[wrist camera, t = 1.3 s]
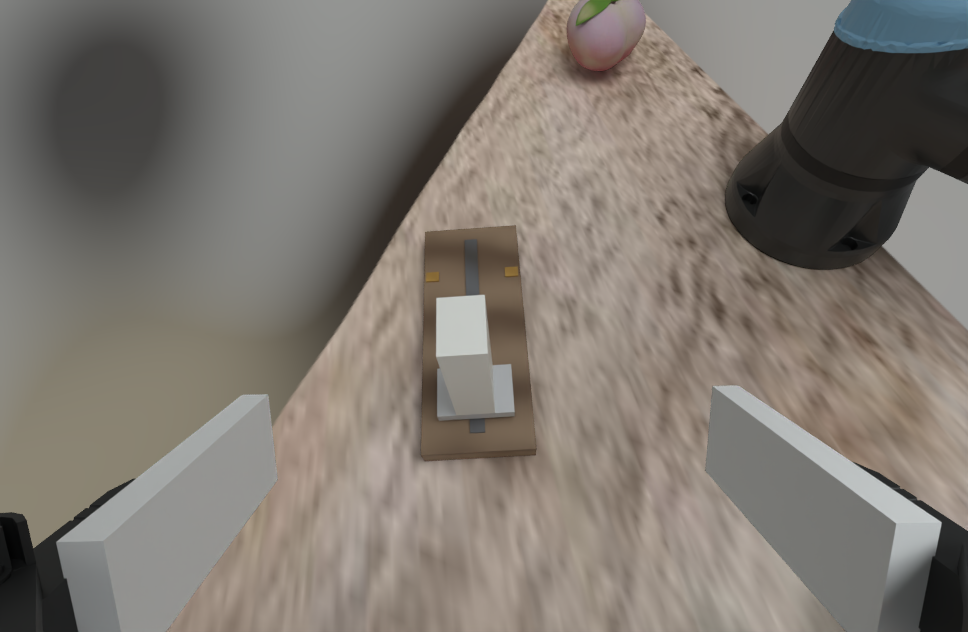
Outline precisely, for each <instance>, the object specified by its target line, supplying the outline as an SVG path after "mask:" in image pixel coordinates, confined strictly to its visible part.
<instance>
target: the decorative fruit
mask: <svg viewBox="0 0 968 632" xmlns="http://www.w3.org/2000/svg"><path fill="white" fill-rule="evenodd" d="M645 25H646V17H645V12H644V9H643V7H642V5H641V3H640V2H639V0H580V1H579V2H578V3H577V4H576V5H575V7H574V8H573V10H572V12H571V14H570V16H569V19H568V22H567V39H568V44H569V47H570V49H571V52H572V54H573V56H574V57H575V59H576V60H577V62H578V63H579V64H580V65H581V66H583V67H585V68H586V69H589V70H593V71H604V70H608V69H610V68H612V67H613V66H614V65H616V64H617V63H619V62H620V61H622V60H623V59H625V58H626V57H627V56H628V55H629V54H630V53H631V51H632V50H633V49H634V47H635V46H636V45H637V43H638V42H639V40H640V39H641V37H642V35H643V32H644V30H645Z"/></svg>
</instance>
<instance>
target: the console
mask: <svg viewBox="0 0 968 632" xmlns="http://www.w3.org/2000/svg"><path fill="white" fill-rule="evenodd" d="M473 295H485V301H486V310H487V319H488V328H489V337H490V346H491V355H492V364H493V365H506V364H511V369H512V383H513V397H514V410H515V416H512V417H495V418H478V419H461V420H444V421H439V419H438V417H437V369H440V367H439V364H438V361H437V358H436V298H443V297H458V296H473ZM526 455H536V439H535V428H534V417H533V406H532V395H531V384H530V374H529V363H528V352H527V341H526V330H525V319H524V309H523V298H522V287H521V276H520V265H519V254H518V244H517V233H516V225H515V226H501V227H487V228H472V229H458V230H444V231H430V232H425V270H424V321H423V372H422V424H421V456H422V458H423V459H424V460H425V461H437V460H455V459H473V458H490V457H508V456H526Z"/></svg>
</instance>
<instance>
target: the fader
mask: <svg viewBox="0 0 968 632" xmlns="http://www.w3.org/2000/svg"><path fill="white" fill-rule="evenodd" d="M436 358H437V361H438V364H439V367H440V369H437V417H438V419H439V421H444V420H461V419H478V418H495V417H512V416H515V410H514V397H513V383H512V369H511V364H506V365H493V364H492V355H491V346H490V337H489V328H488V319H487V310H486V301H485V295H473V296H458V297H443V298H436Z"/></svg>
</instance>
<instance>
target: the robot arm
mask: <svg viewBox="0 0 968 632" xmlns="http://www.w3.org/2000/svg"><path fill="white" fill-rule="evenodd" d="M929 167H930V168H933V169H935V170H938V171H940V172H942V173H945V174H947V175H949V176H951V177H954V178H956V179H958V180H960V181H962V182H964V183H967V184H968V0H851V2H850V3H849V5H848V6H847V7H846V8H845V9H844V10H843V11H842V12H841V13H840V15H839V16H838V18H837V20H836V23H835V27H834V31H833V33H832V35H831V36H830V38H829V40H828V42H827V43H826V45H825V47H824V49H823V51H822V52H821V54H820V56H819V58H818V60H817V61H816V63H815V65H814V67H813V68H812V70H811V72H810V74H809V76H808V77H807V80H806V81H805V83H804V85H803V86H802V88H801V90H800V92H799V94H798V95H797V97H796V99H795V101H794V102H793V104H792V106H791V108H790V110H789V111H788V113H787V115H786V117H785V118H784V120H783V122H782V123H781V124H780V125H779V126H778V127H777V128H775V129H774V130H773V131H772V132H771V133H770V134H769V135H768V136H766V137H765V138H764V139H763V140H762V141H761V142H760V143H759V144H757V145H756V146H755V147H754V148H753V149H752V150H751V151H750V152H749V153H747V154H746V155H745V156H744V157H743V159H742V160H741V161H740V162H739V164H738V165H737V167H736V169H735V171H734V173H733V175H732V177H731V179H730V180H729V182H728V185H727V188H726V194H725V201H726V207H727V211H728V214H729V216H730V218H731V220H732V222H733V224H734V225H735V227H736V228H737V229H738V231H739V232H740V233H741V234H742V235H743V236H744V237H745V238H746V239H747V240H748V241H749V242H750V243H751V244H753V245H754V246H755V247H757V248H758V249H760V250H761V251H763V252H765V253H766V254H768V255H770V256H772V257H774V258H776V259H778V260H781V261H783V262H786V263H789V264H793V265H796V266H800V267H806V268H813V269H837V268H843V267H848V266H851V265H854V264H857V263H859V262H862V261H864V260H865V259H867V258H868V257H870V256H871V255H872V254H873V253H875V252H876V251H877V250H878V249H879V248H880V247H881V246H882V245H883V244H884V243H885V242H886V241H887V240H888V239H889V238H890V237H891V235H892V234H893V232H894V231H895V229H896V228H897V226H898V223H899V221H900V218H901V216H902V213H903V211H904V209H905V206H906V204H907V201H908V199H909V197H910V194H911V191H912V189H913V187H914V185H915V182H916V180H917V179H918V178H919V177H920V176H921V175H922V174H923V173H924V172H925V171H926V170H927V169H928V168H929ZM705 471H706V472H707V473H708V474H709V476H710V477H711V478H712V479H713V480H714V481H715V482H716V484H717V485H718V486H719V487H720V488H721V489H722V490H723V492H724V493H725V494H726V495H727V496H728V497H729V498H730V500H731V501H732V502H733V503H734V504H735V505H736V506H737V508H738V509H739V510H740V511H741V512H742V513H743V514H744V516H745V517H746V518H747V519H748V520H749V521H750V522H751V524H752V525H753V526H754V527H755V528H756V529H757V530H758V532H759V533H760V534H761V535H762V536H763V537H764V538H765V540H766V541H767V542H768V543H769V544H770V545H771V546H772V548H773V549H774V550H775V551H776V552H777V553H778V554H779V556H780V557H781V558H782V559H783V560H784V561H785V562H786V564H787V565H788V566H789V567H790V568H791V569H792V570H793V571H794V573H795V574H796V575H797V576H798V577H799V578H800V579H801V581H802V582H803V583H804V584H805V585H806V586H807V587H808V589H809V590H810V591H811V592H812V593H813V594H814V595H815V597H816V598H817V599H818V600H819V601H820V602H821V603H822V605H823V606H824V607H825V608H826V609H827V610H828V611H829V613H830V614H831V615H832V616H833V617H834V618H835V619H836V621H837V622H838V623H839V624H840V625H841V626H842V627H843V629H844V630H845V631H846V632H920V630H921V631H922V632H968V531H967V530H965V529H964V528H962V527H961V526H959V525H958V524H956V523H955V522H953V521H952V520H950V519H949V518H947V517H946V516H944V515H942V514H941V513H939V512H938V511H936V510H935V509H933V508H932V507H930V506H929V505H927V504H926V503H924V502H923V501H921V500H917V497H915V496H913V495H912V494H910V493H909V492H907V491H906V490H904V489H900V486H898V485H897V484H895V483H894V482H892V481H891V480H889V479H888V478H886V477H884V476H883V475H881V474H880V473H878V472H875V471H873V470H871V469H868V468H866V467H864V466H861V465H859V464H857V463H854V462H851V461H850V460H848V459H847V458H845V457H844V456H842V455H841V454H839V453H838V452H836V451H835V450H833V449H832V448H830V447H829V446H827V445H826V444H824V443H823V442H821V441H820V440H819V439H817V438H816V437H814V436H813V435H811V434H810V433H808V432H807V431H805V430H804V429H802V428H801V427H799V426H798V425H796V424H795V423H793V422H792V421H790V420H789V419H787V418H786V417H784V416H783V415H781V414H780V413H778V412H777V411H775V410H774V409H772V408H771V407H769V406H768V405H766V404H765V403H764V402H762V401H761V400H759V399H758V398H756V397H755V396H753V395H752V394H750V393H749V392H747V391H746V390H744V389H743V388H741V387H740V386H738V385H737V386H713V387H712V399H711V410H710V422H709V434H708V445H707V457H706V469H705ZM277 480H278V478H277V469H276V460H275V451H274V442H273V433H272V424H271V416H270V406H269V398H268V394H264V395H262V394H261V395H241V396H240V397H239V398H237V399H236V400H235V401H234V402H232V403H231V404H230V405H229V406H227V407H226V408H225V409H224V410H222V411H221V412H220V413H219V414H217V415H216V416H215V417H213V418H212V419H211V420H210V421H208V422H207V423H206V424H205V425H203V426H202V427H201V428H200V429H198V430H197V431H196V432H194V433H193V434H192V435H191V436H190V437H188V438H187V439H186V440H184V441H183V442H182V443H181V444H180V445H178V446H177V447H176V448H175V449H173V450H172V451H170V452H169V453H168V454H167V455H165V456H164V457H163V458H162V459H161V460H159V461H158V462H157V463H155V464H154V465H153V466H152V467H150V468H149V469H148V470H147V471H145V472H144V473H143V474H142V475H140V476H139V477H138V478H137V479H132V480H130V481H128V482H126V483H124V484H122V485H120V486H118V487H116V488H114V489H112V490H110V491H108V492H107V493H105V494H104V495H103V496H101V497H100V498H99V499H97V500H96V501H95V502H94V503H92V504H91V505H90V507H89V508H86V509H84V510H83V511H82V512H80V513H79V514H78V515H77V516H75V517H74V520H73V521H69V522H67V523H66V524H65V525H64V526H62V527H61V528H60V529H58V530H57V531H56V532H54V533H53V534H52V535H50V536H49V537H48V538H47V539H45V540H44V541H43V542H41V543H40V544H39V545H37V546H36V547H35V548H33V546H32V542H31V538H30V533H29V529H28V525H27V520H26V519H25V517H24V516H23V514H17V513H12V512H11V513H0V632H166V631H167V630H168V628H169V627H170V626H171V624H172V623H173V622H174V620H175V619H176V617H177V616H178V615H179V613H180V612H181V611H182V609H183V608H184V607H185V605H186V604H187V602H188V601H189V600H190V598H191V597H192V596H193V594H194V593H195V592H196V590H197V589H198V587H199V586H200V585H201V583H202V582H203V581H204V579H205V578H206V577H207V575H208V574H209V573H210V571H211V570H212V568H213V567H214V566H215V564H216V563H217V562H218V560H219V559H220V558H221V556H222V555H223V553H224V552H225V551H226V549H227V548H228V547H229V545H230V544H231V543H232V541H233V540H234V538H235V537H236V536H237V534H238V533H239V532H240V530H241V529H242V528H243V526H244V525H245V524H246V522H247V521H248V519H249V518H250V517H251V515H252V514H253V513H254V511H255V510H256V509H257V507H258V506H259V504H260V503H261V502H262V500H263V499H264V498H265V496H266V495H267V494H268V492H269V491H270V489H271V488H272V487H273V485H274V484H275V483H276V481H277Z"/></svg>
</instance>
